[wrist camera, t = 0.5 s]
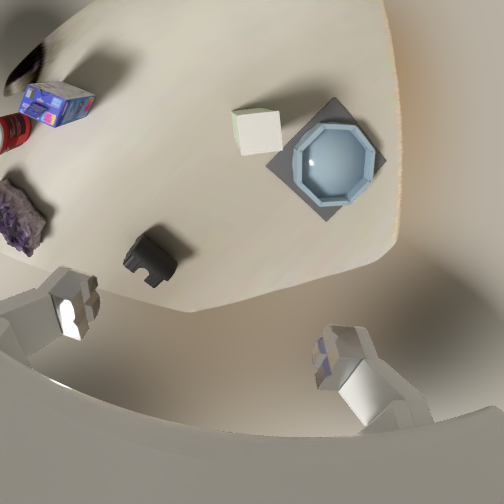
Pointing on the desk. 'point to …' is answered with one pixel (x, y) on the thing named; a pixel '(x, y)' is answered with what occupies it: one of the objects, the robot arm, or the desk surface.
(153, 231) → the desk surface
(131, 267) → the end cap
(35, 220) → the geode
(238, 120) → the tea tin
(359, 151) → the bowl
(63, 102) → the ink cartridge box
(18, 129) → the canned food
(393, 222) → the desk surface
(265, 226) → the desk surface
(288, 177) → the mat
